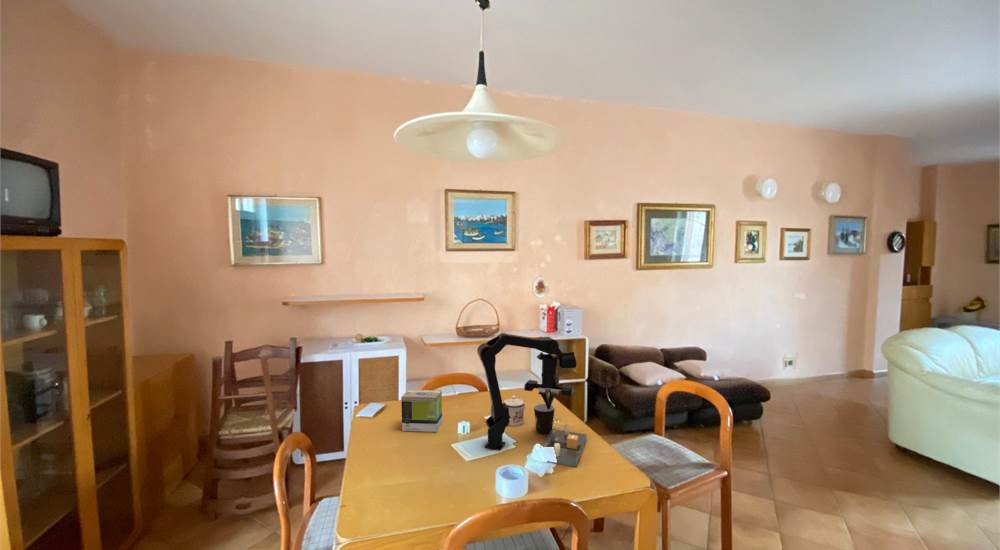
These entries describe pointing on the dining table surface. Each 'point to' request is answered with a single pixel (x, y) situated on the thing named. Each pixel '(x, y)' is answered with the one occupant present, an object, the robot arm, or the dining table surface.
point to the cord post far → (566, 430)
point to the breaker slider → (572, 441)
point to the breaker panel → (565, 447)
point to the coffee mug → (544, 418)
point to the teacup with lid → (515, 410)
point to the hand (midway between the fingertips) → (548, 409)
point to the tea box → (421, 410)
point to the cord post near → (557, 449)
